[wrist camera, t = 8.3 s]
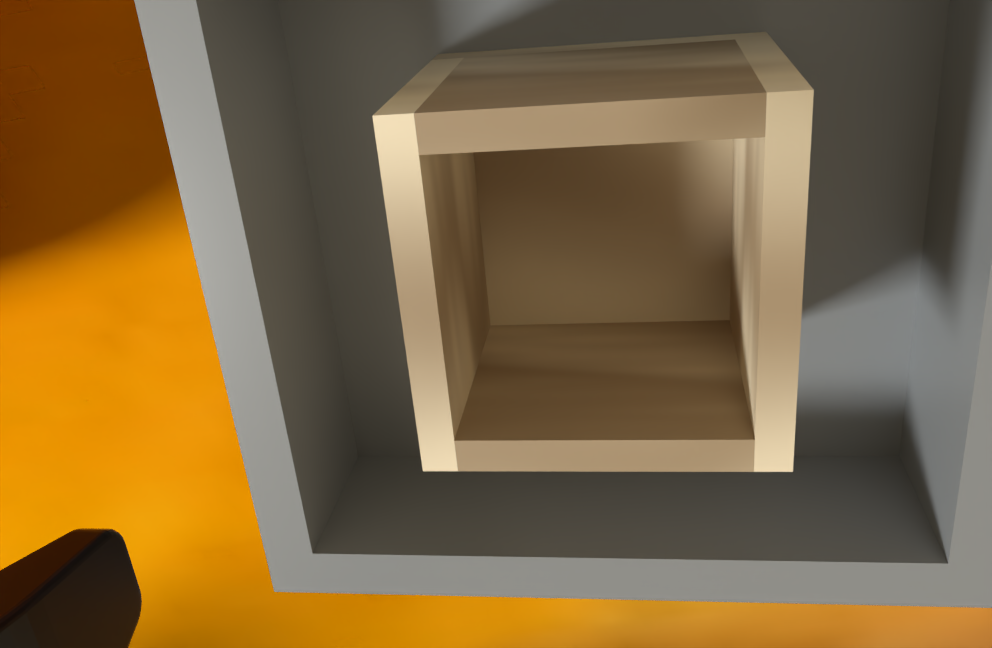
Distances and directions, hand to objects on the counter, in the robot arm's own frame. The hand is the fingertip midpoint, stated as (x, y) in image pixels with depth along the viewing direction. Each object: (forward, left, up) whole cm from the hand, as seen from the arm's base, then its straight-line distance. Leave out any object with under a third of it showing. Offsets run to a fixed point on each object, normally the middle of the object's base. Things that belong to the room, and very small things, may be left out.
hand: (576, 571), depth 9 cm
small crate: (0, 0, -11) cm, 11 cm away
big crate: (0, 0, -12) cm, 12 cm away
